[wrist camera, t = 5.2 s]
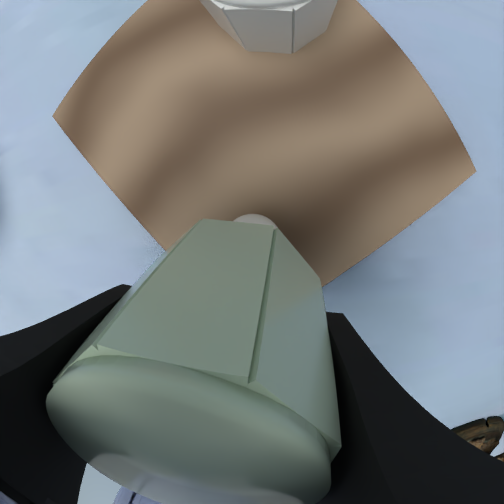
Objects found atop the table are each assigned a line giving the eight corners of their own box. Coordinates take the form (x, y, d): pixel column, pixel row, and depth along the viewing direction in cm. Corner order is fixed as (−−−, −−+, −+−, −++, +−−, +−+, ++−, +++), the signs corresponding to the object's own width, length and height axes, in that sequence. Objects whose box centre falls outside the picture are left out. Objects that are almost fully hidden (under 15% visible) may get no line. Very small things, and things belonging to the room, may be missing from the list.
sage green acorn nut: (346, 312, 10) (381, 492, 4) (230, 376, 12) (194, 519, 6) (240, 184, 9) (131, 317, 3) (130, 283, 11) (24, 414, 5)
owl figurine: (520, 397, 21) (562, 495, 6) (491, 442, 26) (516, 525, 10) (400, 443, 25) (418, 572, 9) (387, 478, 29) (395, 576, 13)
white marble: (294, 237, 16) (294, 260, 14) (253, 267, 17) (245, 294, 15) (258, 196, 16) (251, 211, 13) (218, 229, 17) (203, 250, 14)
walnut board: (472, 169, 14) (476, 171, 13) (248, 329, 20) (247, 333, 19) (256, -71, 9) (255, -75, 9) (57, 115, 15) (52, 116, 15)
